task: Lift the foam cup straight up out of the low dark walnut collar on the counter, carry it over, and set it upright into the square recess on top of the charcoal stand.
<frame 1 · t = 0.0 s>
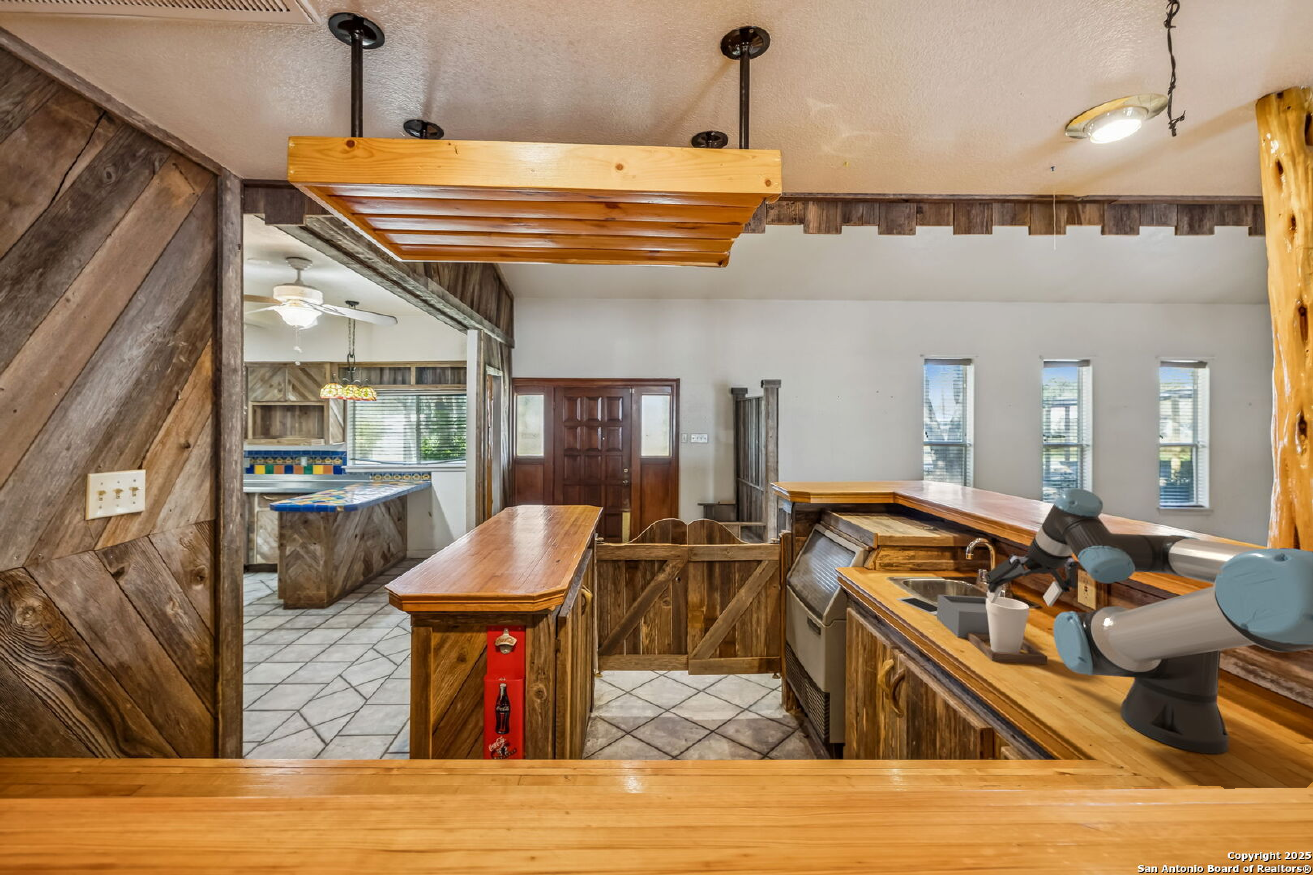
hand: (1018, 600, 133), 15 cm above the countertop, tool tilted 35°, fingers open, 13 cm apart
foam cup: (1005, 652, 138), on the countertop
smartphone: (922, 607, 171), on the countertop
charcoal stand: (972, 629, 153), on the countertop
walnut collar: (1005, 651, 138), on the countertop
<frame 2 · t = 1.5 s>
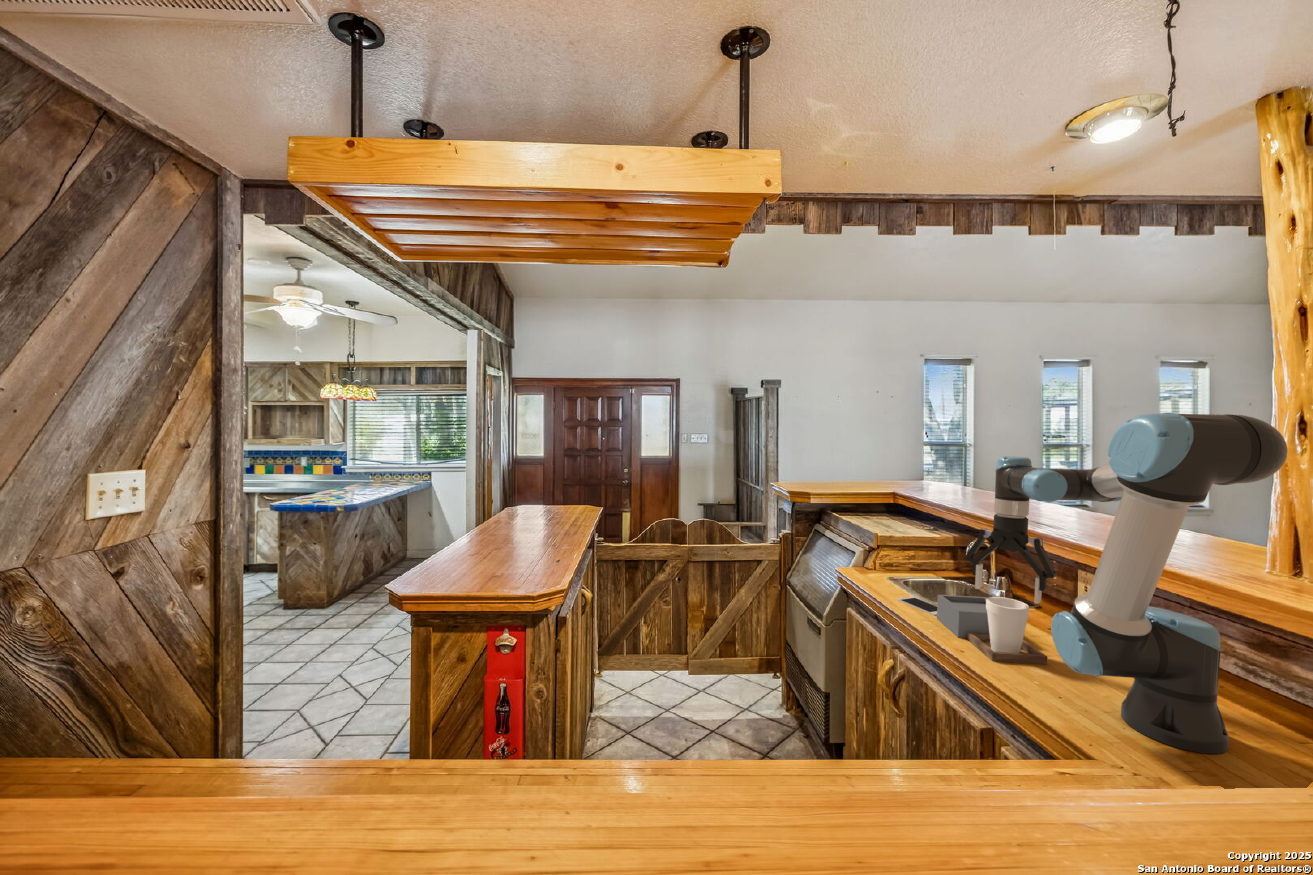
hand: (1006, 594, 138), 15 cm above the countertop, tool pointing down, fingers open, 13 cm apart
nothing on the countertop moved.
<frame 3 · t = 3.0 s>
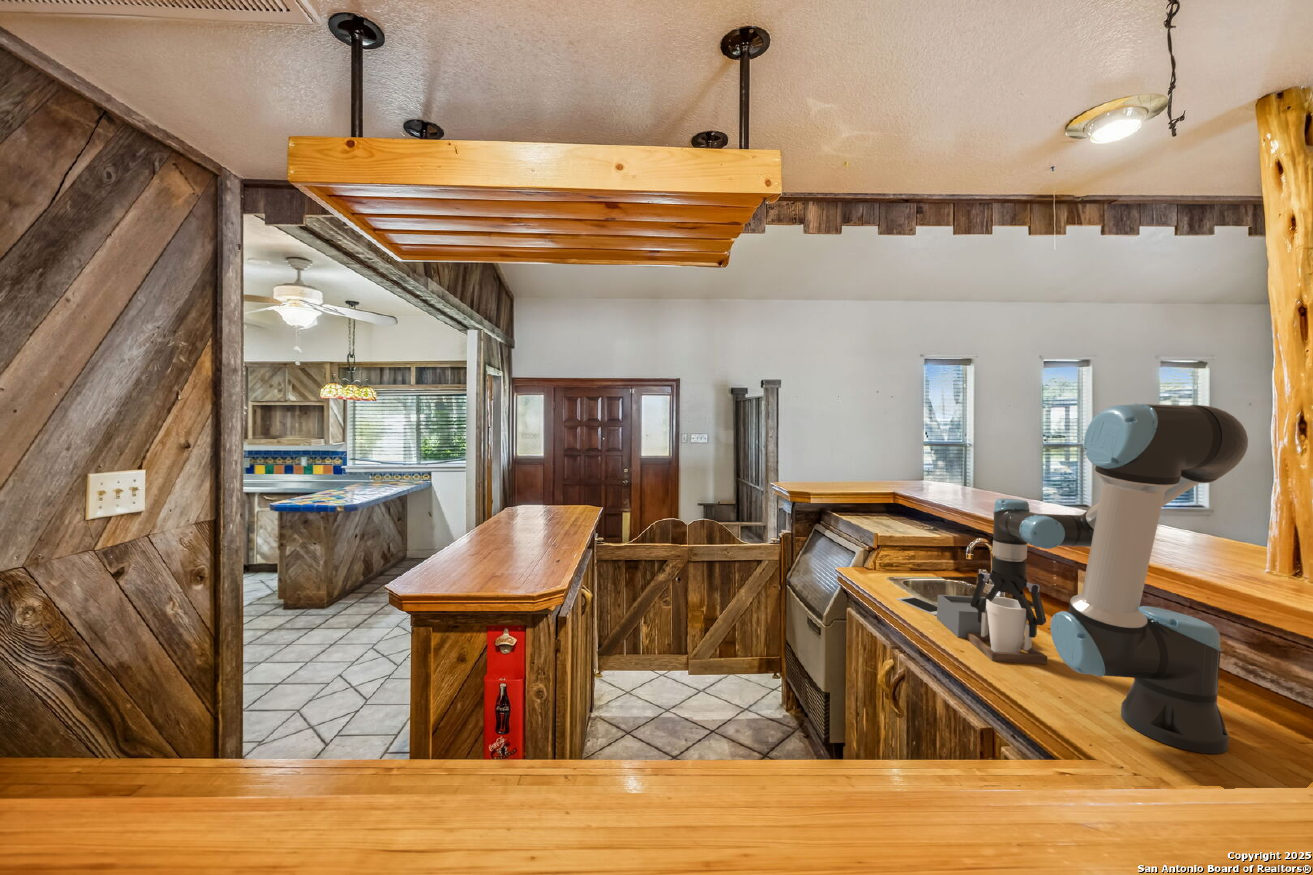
hand: (1005, 641, 138), 3 cm above the countertop, tool pointing down, fingers closed on foam cup, 9 cm apart
foam cup: (1005, 652, 138), on the countertop, touching gripper
everything else where it was.
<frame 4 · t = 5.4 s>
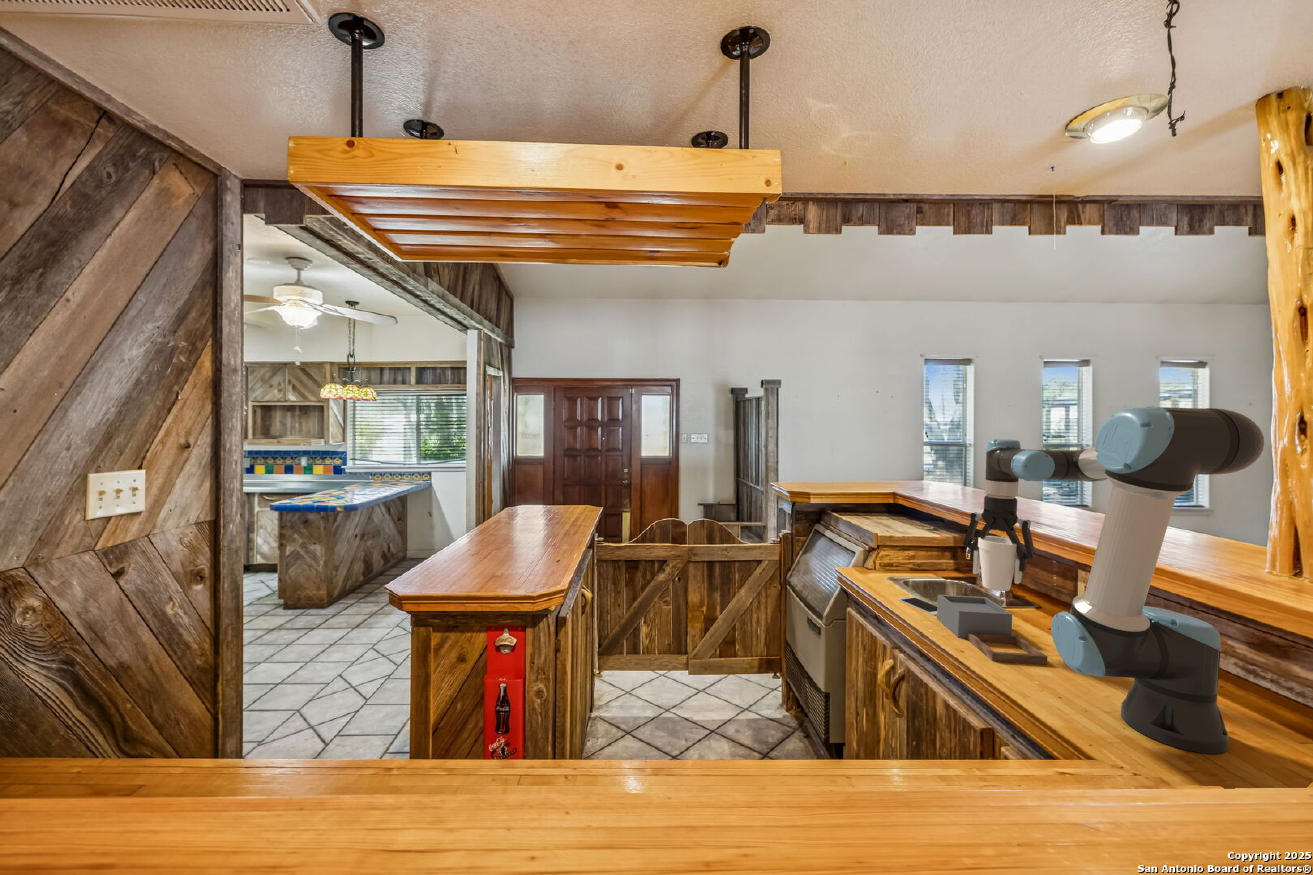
hand: (996, 577, 142), 18 cm above the countertop, tool pointing down, fingers closed on foam cup, 9 cm apart
foam cup: (995, 587, 142), point 15 cm above the countertop, touching gripper
everything else where it was.
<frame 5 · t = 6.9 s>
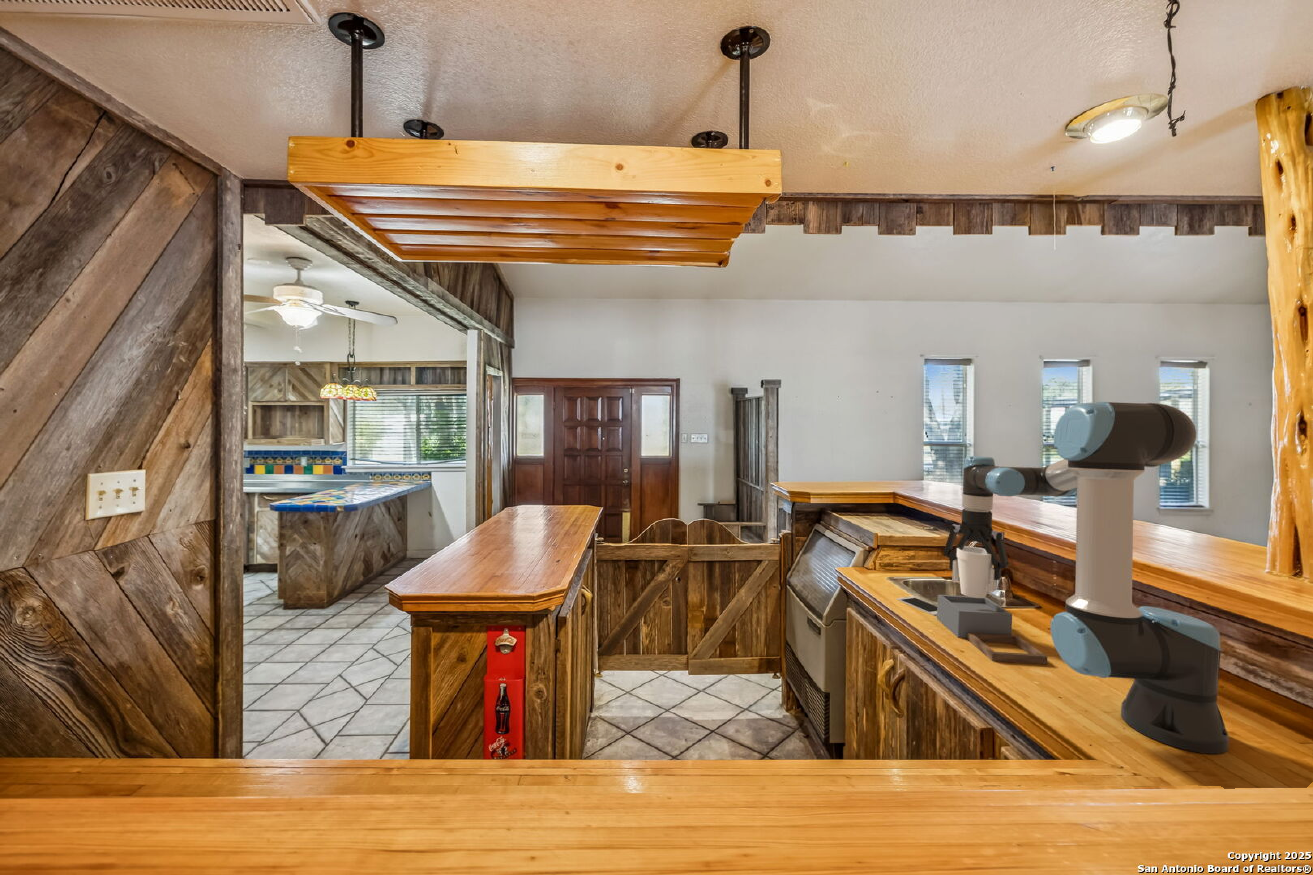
hand: (973, 585, 152), 13 cm above the countertop, tool pointing down, fingers closed on foam cup, 9 cm apart
foam cup: (973, 595, 152), point 10 cm above the countertop, touching gripper
everything else where it was.
when the fingers open (10 cm above the countertop, at t = 7.9 s): foam cup drops 1 cm, resting on charcoal stand.
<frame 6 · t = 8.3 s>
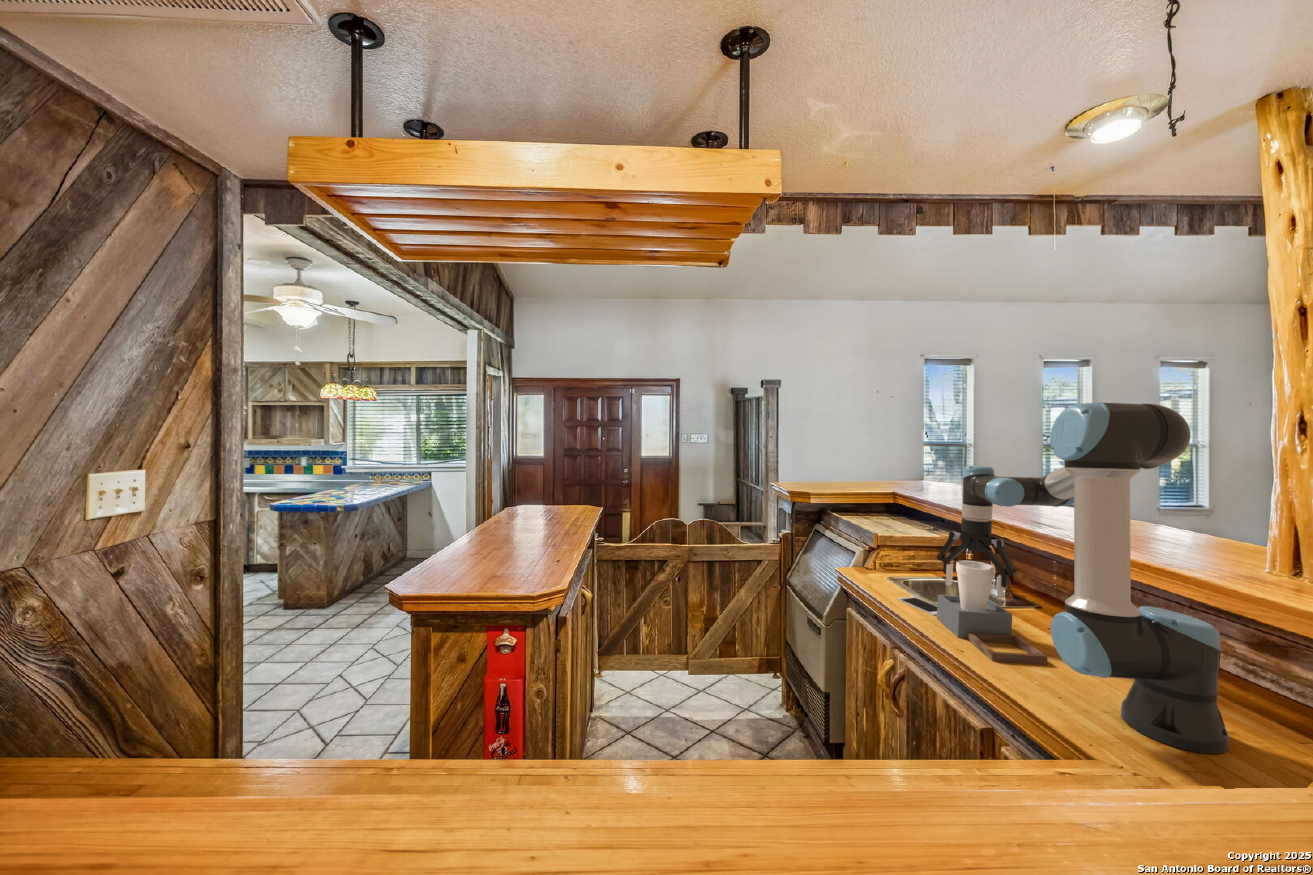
hand: (973, 591, 152), 11 cm above the countertop, tool pointing down, fingers open, 13 cm apart
foam cup: (973, 609, 152), point 6 cm above the countertop, touching charcoal stand
everything else where it was.
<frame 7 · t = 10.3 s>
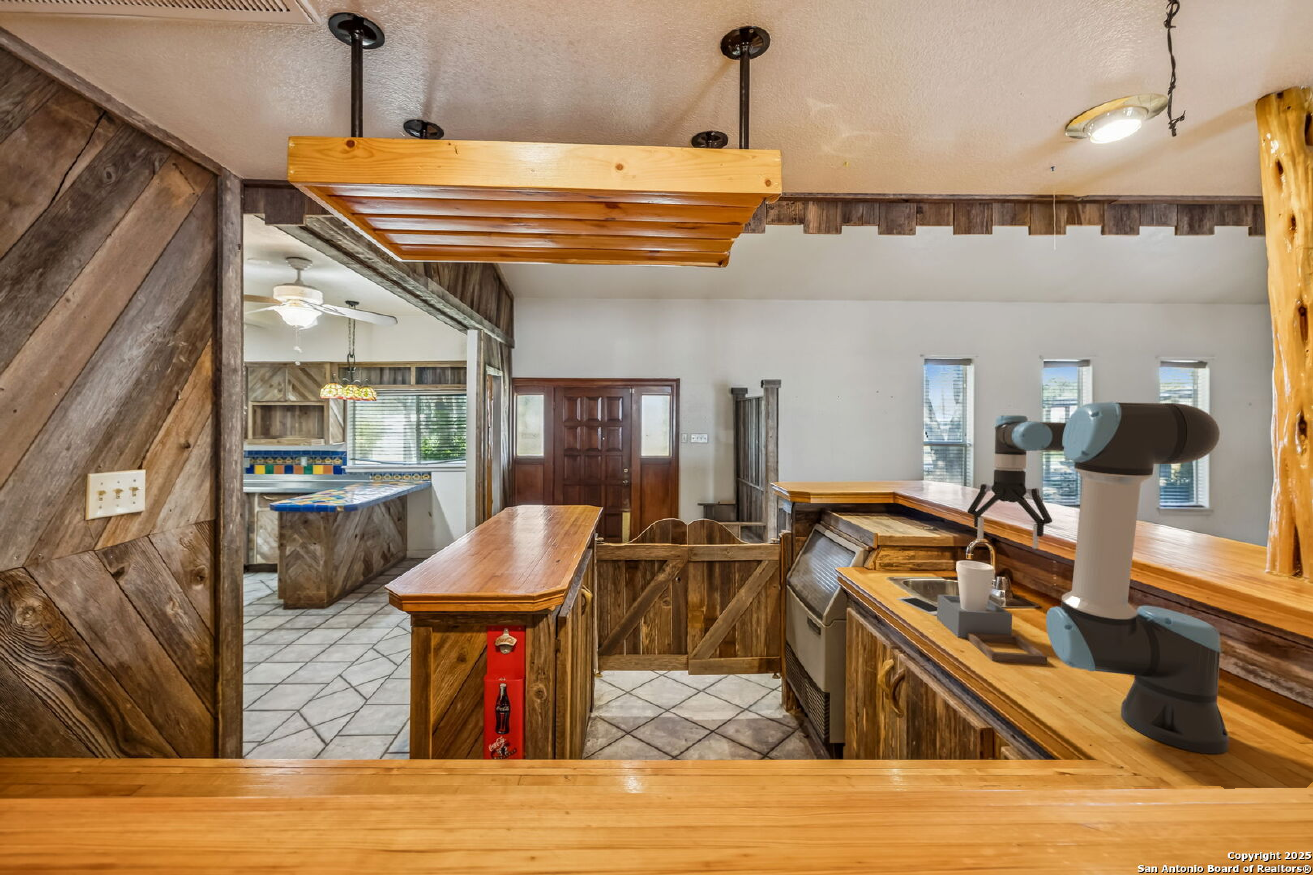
hand: (1006, 543, 149), 26 cm above the countertop, tool pointing down, fingers open, 13 cm apart
nothing on the countertop moved.
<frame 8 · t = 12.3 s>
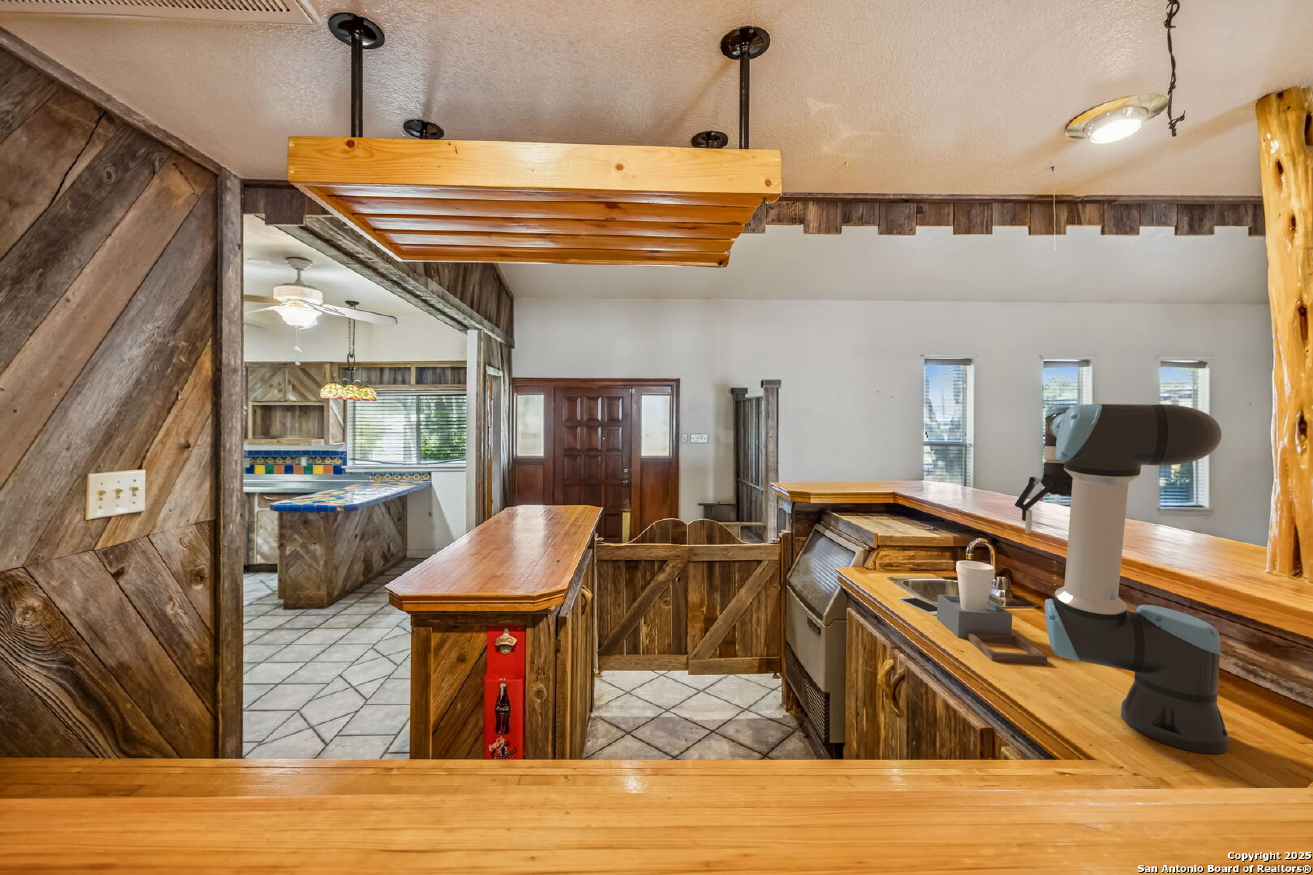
hand: (1056, 537, 146), 29 cm above the countertop, tool pointing down, fingers open, 13 cm apart
nothing on the countertop moved.
at the end: foam cup 0.1 cm off-centre on the charcoal stand, point 5.8 cm above the charcoal stand's base; foam cup tilted 0°; the gripper is holding nothing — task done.
